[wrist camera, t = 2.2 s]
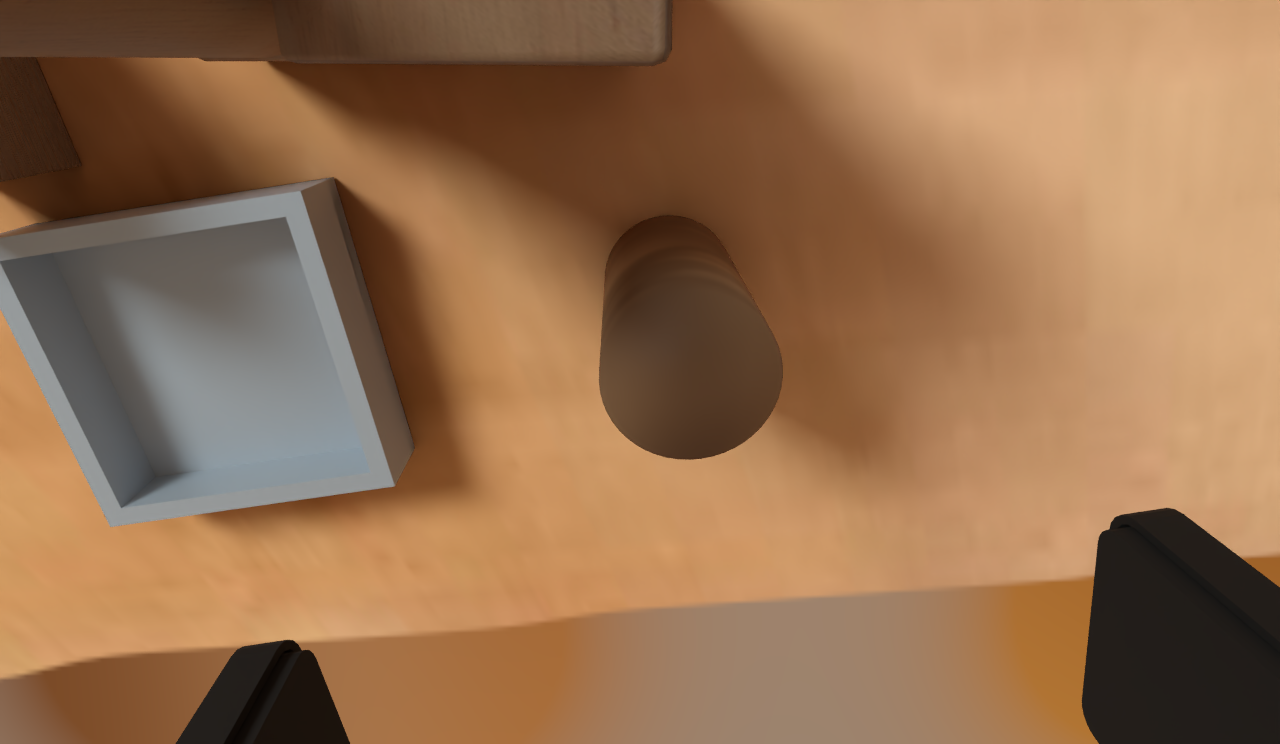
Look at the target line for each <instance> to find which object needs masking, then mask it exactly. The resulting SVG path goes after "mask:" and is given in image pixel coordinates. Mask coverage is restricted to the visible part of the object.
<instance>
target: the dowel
mask: <svg viewBox="0 0 1280 744" xmlns="http://www.w3.org/2000/svg"><path fill="white" fill-rule="evenodd" d="M782 378H783V365H782V359H781V353H780V350H779V347H778V344H777V341H776V339H775V337H774V335H773V333H772V331H771V330H770V328H769V326H768V324H767V322H766V321H765V319H764V317H763V315H762V314H761V312H760V310H759V308H758V306H757V305H756V303H755V301H754V299H753V298H752V296H751V294H750V292H749V291H748V289H747V287H746V285H745V283H744V282H743V280H742V278H741V276H740V275H739V273H738V271H737V269H736V268H735V266H734V264H733V262H732V260H731V259H730V257H729V255H728V253H727V252H726V250H725V248H724V246H723V245H722V243H721V242H720V240H719V239H718V238H717V237H716V235H715V234H714V233H713V232H711V231H710V230H709V229H708V228H707V227H705V226H704V225H702V224H700V223H698V222H696V221H694V220H692V219H688V218H685V217H680V216H658V217H654V218H650V219H647V220H645V221H642V222H640V223H638V224H636V225H635V226H633V227H632V228H630V229H629V230H628V231H627V232H626V233H625V234H623V235H622V237H621V238H620V239H619V240H618V241H617V243H616V244H615V246H614V247H613V249H612V251H611V253H610V255H609V258H608V261H607V264H606V270H605V284H604V300H603V317H602V334H601V351H600V367H599V386H600V393H601V397H602V401H603V404H604V406H605V409H606V411H607V413H608V415H609V417H610V418H611V420H612V422H613V423H614V424H615V426H616V427H617V428H618V429H619V431H620V432H621V433H622V434H623V435H624V436H625V437H627V438H628V439H629V440H630V441H632V442H633V443H634V444H636V445H637V446H639V447H641V448H643V449H645V450H646V451H649V452H651V453H654V454H656V455H660V456H664V457H667V458H674V459H689V460H690V459H702V458H707V457H712V456H715V455H718V454H721V453H724V452H726V451H729V450H731V449H733V448H735V447H737V446H738V445H740V444H742V443H743V442H745V441H746V440H747V439H749V438H750V437H751V436H752V435H754V434H755V433H756V432H757V431H758V430H759V429H760V428H761V426H762V425H763V424H764V423H765V421H766V420H767V419H768V417H769V416H770V414H771V412H772V411H773V409H774V407H775V405H776V402H777V400H778V397H779V394H780V390H781V385H782Z"/></svg>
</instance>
